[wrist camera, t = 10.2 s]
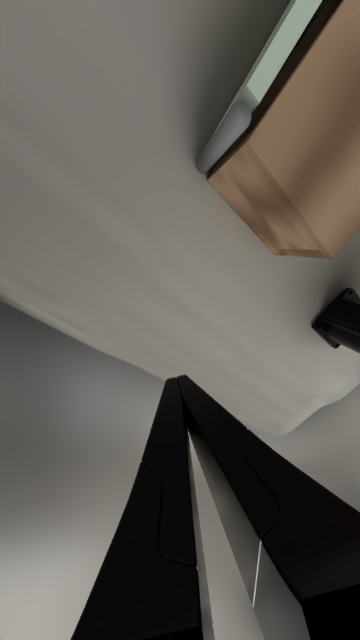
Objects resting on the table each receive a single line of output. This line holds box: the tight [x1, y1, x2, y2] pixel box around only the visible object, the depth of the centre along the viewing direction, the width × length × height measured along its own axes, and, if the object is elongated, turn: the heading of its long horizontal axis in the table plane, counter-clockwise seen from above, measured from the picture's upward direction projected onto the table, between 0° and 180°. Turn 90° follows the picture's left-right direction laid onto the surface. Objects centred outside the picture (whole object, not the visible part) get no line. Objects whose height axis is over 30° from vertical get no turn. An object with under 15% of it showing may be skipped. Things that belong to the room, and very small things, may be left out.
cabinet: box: [207, 0, 360, 259], centre depth 13 cm, size 10×15×6 cm, turn 143°
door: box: [196, 0, 322, 173], centre depth 10 cm, size 2×15×6 cm, turn 146°
